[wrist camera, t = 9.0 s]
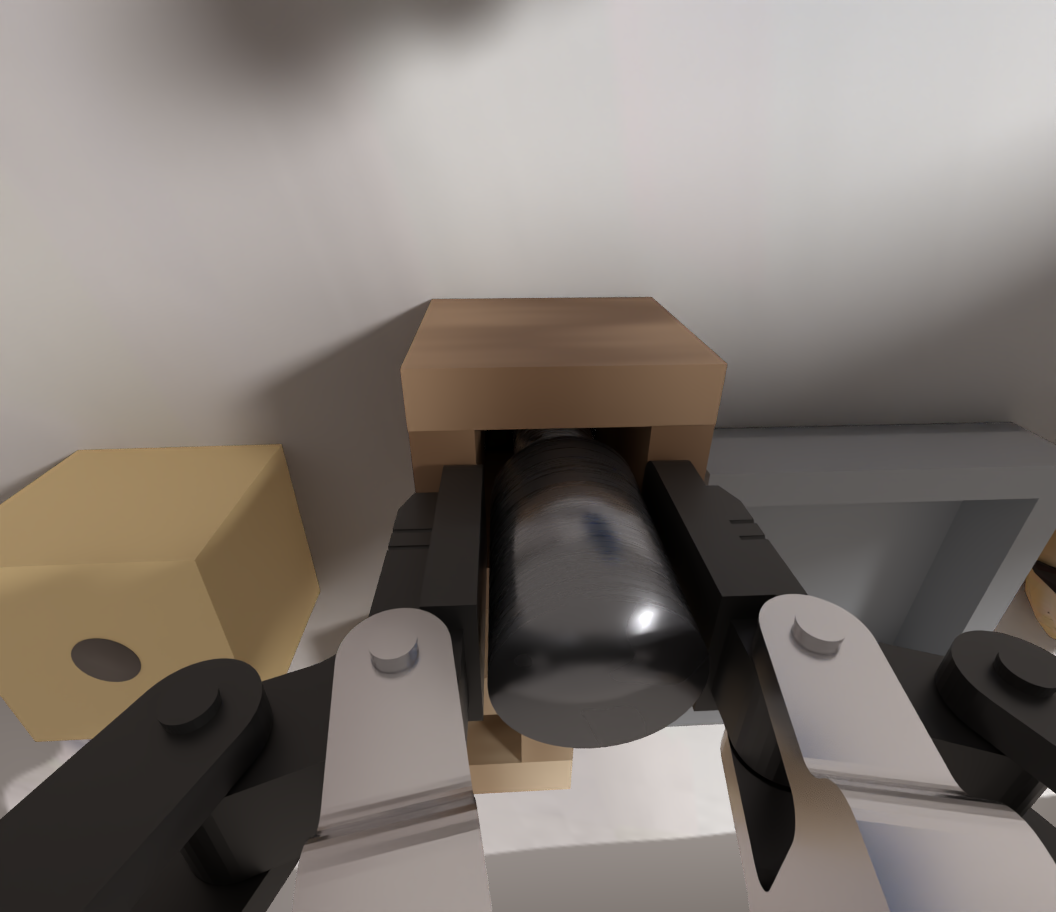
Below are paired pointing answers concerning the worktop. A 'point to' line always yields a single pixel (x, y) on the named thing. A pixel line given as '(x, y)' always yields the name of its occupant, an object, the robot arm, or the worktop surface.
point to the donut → (1044, 587)
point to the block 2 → (556, 382)
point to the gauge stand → (512, 754)
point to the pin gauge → (583, 600)
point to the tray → (897, 519)
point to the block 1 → (146, 578)
